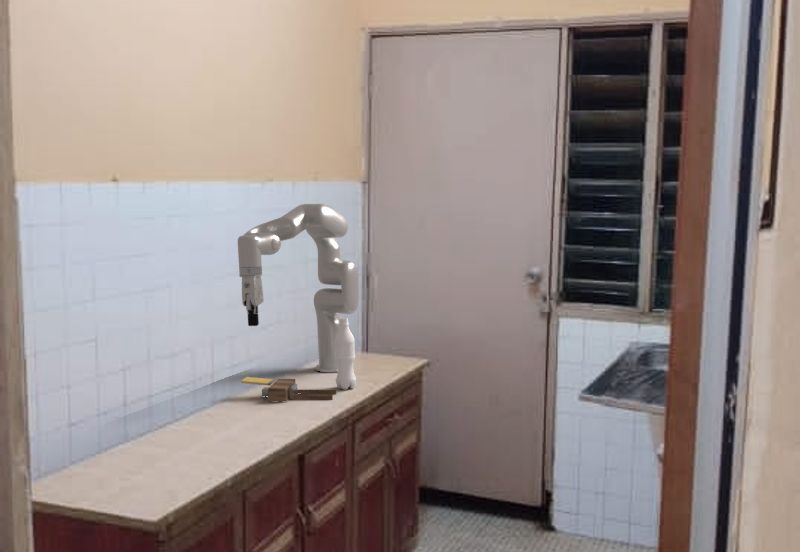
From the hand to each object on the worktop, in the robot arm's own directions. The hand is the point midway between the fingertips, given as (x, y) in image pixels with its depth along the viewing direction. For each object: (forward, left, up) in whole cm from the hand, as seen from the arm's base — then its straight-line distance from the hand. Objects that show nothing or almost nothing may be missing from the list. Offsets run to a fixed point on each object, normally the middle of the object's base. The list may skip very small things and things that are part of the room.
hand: (253, 325), depth 290 cm
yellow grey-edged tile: (0, +1, -20) cm, 20 cm away
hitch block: (0, +16, -25) cm, 30 cm away
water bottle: (-12, +29, -25) cm, 40 cm away
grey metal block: (0, +7, -25) cm, 26 cm away
